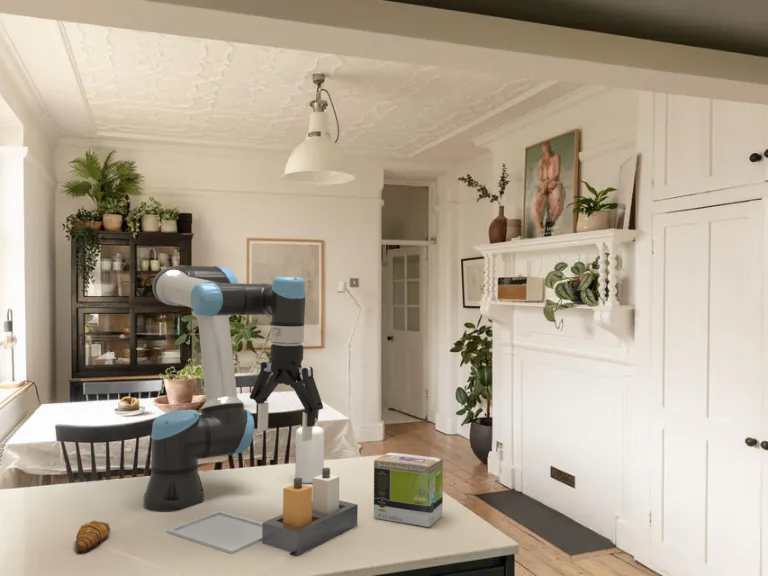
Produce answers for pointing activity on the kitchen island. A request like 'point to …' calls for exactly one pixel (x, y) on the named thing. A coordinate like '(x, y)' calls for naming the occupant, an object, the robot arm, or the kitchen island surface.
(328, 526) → the grey bottle rack
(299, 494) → the orange square bottle
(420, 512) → the tea box
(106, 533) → the croissant
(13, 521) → the kitchen island surface
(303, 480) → the white bottle
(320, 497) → the white square bottle
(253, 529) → the tray
